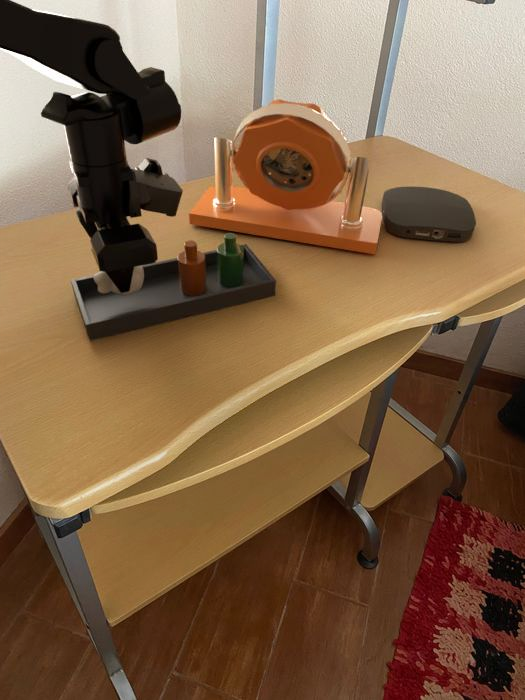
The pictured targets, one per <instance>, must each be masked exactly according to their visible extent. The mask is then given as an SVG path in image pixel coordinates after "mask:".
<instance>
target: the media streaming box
mask: <svg viewBox="0 0 525 700" xmlns="http://www.w3.org/2000/svg"><path fill="white" fill-rule="evenodd" d="M381 213H382V221H383V225H384V228H385V229H386V230H387V231H388V232H389V233H391V234H393V235H395V236H397V237H402V238H408V239H417V240H427V241H440V242H441V241H442V242H457V243H460V242H466V241H468V240H470V239H471V238H472V237H473V234H474V231H475V228H476V225H477V221H476V216H475V212H474V209H473V207H472V205H471V203H470V202H469V201H468V200H467V199H466V198H465V197H463V196H461V195H459V194H457V193H454V192H452V191H448V190H445V189H441V188H435V187H427V186H396V187H392V188H389V189H386V190H385V191H384V192H383V195H382V200H381Z"/></svg>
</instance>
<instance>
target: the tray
mask: <svg viewBox="0 0 525 700" xmlns="http://www.w3.org/2000/svg"><path fill="white" fill-rule="evenodd" d="M240 245H241V246H242V247H243V248H244V264H243V282H242V283H241V284H240V285H238V286H236V287H226V286H223V285H221V284H220V283H219V282H218V274H217V249H214V250H210V251H205V252H202V253H203V254H204V255H205V265H206V291H205V292H204V293H202V294H200V295H197V296H189V295H185V294H183V293H182V292H181V290H180V282H179V270H178V257H177V258H175V257H174V258H170V259H166V260H161V261H156V262H155V263H151V264H146V265H141V266H142V267H143V270H144V280H143V284H142V287H141V288H140V289H139V290H138V291H136V292H135V293H132V294H130V295H119V294H116V293H114V292H112V291H110V292H108V293H100V292H99V291H98V285H97V283H96V282H95V281H94V275H95V274H92V275H87V276H82V277H78V278H77V277H76V278H72V279H70V284H71V287H72V292H73V296H74V298H75V301H76V304H77V308H78V311H79V314H80V317H81V320H82V322H83V323H82V324H83V326H84V329H85V332H86V335H87V338H88V341H89V342H91V341H95V340H98V339H103V338H107V337H111V336H116V335H119V334H124V333H127V332H131V331H135V330H140V329H143V328H147V327H152V326H156V325H160V324H164V323H168V322H172V321H177V320H180V319H184V318H189V317H192V316H193V317H194V316H196V315H201V314H205V313H210V312H214V311H217V310H221V309H225V308H230V307H234V306H237V305H241V304H247V303H250V302H254V301H259V300H261V299H262V300H263V299H267V298H270V297H274V296H276V291H277V280H276V278H275V277H274V276H273V275H272V273H271V272H270V271H269V270H268V268H266V266H265V265H264V264H263V262H261V260H260V259H259V257H258V256H257V255H256V254H255V253H254V251H253V250H252V249H251V247H249V245H248V244H247V243H244V244H240Z"/></svg>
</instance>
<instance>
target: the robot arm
mask: <svg viewBox="0 0 525 700" xmlns="http://www.w3.org/2000/svg"><path fill="white" fill-rule="evenodd" d="M0 50H1V51H4V52H6V53H8V54H10V55H11V56H14V57H15V58H17V59H19V60H20V61H21V62H23V63H24V64H25V65H27V66H28V67H30V68H32V69H33V70H35V71H37V72H39V73H41V74H42V75H44V76H47V77H48V78H50V79H52V80H53V81H55V82H59V83H62V84H66V85H69V86H72V87H76V88H79V89H83V90H86V91H89V92H83V93H80V94H75V95H72V96H71V95H70V94H67V93H63V92H60V91H58V90H54V91H52V95H51V98H50V99H49V100H48V102H47V103H46V104H45V105H44V107H43V108H42V109H41V111H40V116H41V118H43V119H45V120H48V121H51V122H53V123H57V124H60V125H62V126H63V128H64V132H65V137H66V142H67V147H68V152H69V156H70V160H68V162H69V168H70V171H71V173H72V175H73V176H72V178H71V179H70V180H69V181H68V183H67V184H66V186H67V190H68V195H69V199H70V202H71V204H72V207H73V208H79V209H77V210H76V211H75V214H76V216H77V219H78V221H79V223H80V225H81V226H82V228H83V229H84V232H86V234H87V235H88V237H89V239H90V241H89V242H90V245H91V248H90V250H91V253H92V255H93V257H94V261H95V263H96V265H97V268H98V270H99V272H101V271H103V272H106V274H107V275H108V276H109V278H110V279H111V280H112V282H113V283H114V284H115V286H116V287H117V288H118V290H119V291H120V292H121V293H124V292H128V291H130V286H131V281H132V275H133V270H134V267H136V266H141V265H146V264H151V263H155V262H158V259H159V258H158V249H157V247H158V246H157V243H156V241H155V239H154V238H153V236H152V234H151V232H150V231H149V230H148V228H146V227H144V226H143V225H141V224H140V223H134V224H131V223H130V221H129V220H128V217H130V218H131V219H133V218H140V217H142V216H143V215H142V210H143V211H145V212H151V213H156V214H157V213H158V214H162V215H165V216H167V217H171V218H172V217H176V216H177V213H178V210H179V206H180V202H181V199H182V196H183V192H184V190H183V189H182V187H181V186H180V185H179V183H178V182H177V181H176V179H175V178H173V177H171V176H170V175H169V174H168V173H166V172H164V173H163V168H162V166H161V164H160V163H159V161H158V160H157V159H153V158H149V157H145V158H144V159H143V160H142V162H141V163H140V164H139V165H138V166H135V167H134V168H131V167H130V165H129V163H128V158H127V157H128V156H127V151H126V143H128V144H130V145H139V144H141V143H144V142H146V141H149V140H152V139H154V138H157V137H159V136H162V135H164V134H168V133H170V132H172V131H175V130H176V129H177V128H178V127H179V125H180V123H181V119H182V106H181V104H180V103H179V99H178V96H177V94H176V92H175V91H174V89H173V88H172V86H170V85H169V84H168V82H166V76H165V75H166V74H165V70H163V69H160V68H156V67H152V66H149V67H146V68H142V69H141V70H140V71H138V70H137V69H136V67H135V66H134V64H133V63H132V62H131V61H130V60H131V59H129V57H128V56H127V54H126V53H125V51H124V49H123V45H122V43H121V37H120V35H119V33H118V32H117V31H116V30H115V29H114V28H113V27H111V26H109V25H108V24H105V23H100V22H97V21H92V20H87V19H83V18H78V17H73V16H69V15H64V14H60V13H55V12H50V11H44V10H39V9H32V8H29V7H27V6H25V5H22V4H20V3H18V2H16V1H13V0H0ZM98 94H99V95H100V94H101V96H99V95H98ZM125 142H126V143H125Z"/></svg>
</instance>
